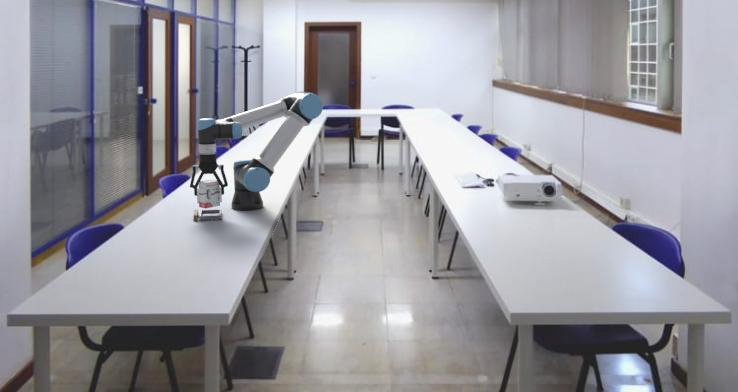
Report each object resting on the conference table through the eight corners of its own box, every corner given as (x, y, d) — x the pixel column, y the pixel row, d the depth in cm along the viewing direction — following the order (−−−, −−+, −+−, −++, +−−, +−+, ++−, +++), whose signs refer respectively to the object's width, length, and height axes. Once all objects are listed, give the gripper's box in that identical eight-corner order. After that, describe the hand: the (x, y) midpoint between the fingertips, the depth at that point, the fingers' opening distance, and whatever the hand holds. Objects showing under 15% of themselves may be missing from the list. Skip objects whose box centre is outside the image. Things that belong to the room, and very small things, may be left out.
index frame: (221, 213, 331) (221, 209, 331) (221, 219, 318) (221, 215, 318) (200, 214, 329) (200, 210, 329) (199, 221, 316) (199, 216, 316)
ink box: (205, 208, 318) (204, 182, 315) (198, 207, 321) (197, 181, 319) (221, 205, 324) (220, 180, 322) (214, 204, 328) (212, 178, 325)
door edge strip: (198, 214, 328) (198, 209, 328) (197, 220, 317) (196, 215, 316) (195, 214, 328) (194, 209, 328) (193, 220, 317) (193, 215, 316)
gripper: (181, 154, 312) (184, 204, 317) (232, 153, 316) (234, 202, 321) (182, 152, 319) (185, 201, 324) (232, 151, 323) (234, 199, 328)
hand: (209, 202), depth 322 cm, fingers closed on ink box, 9 cm apart
